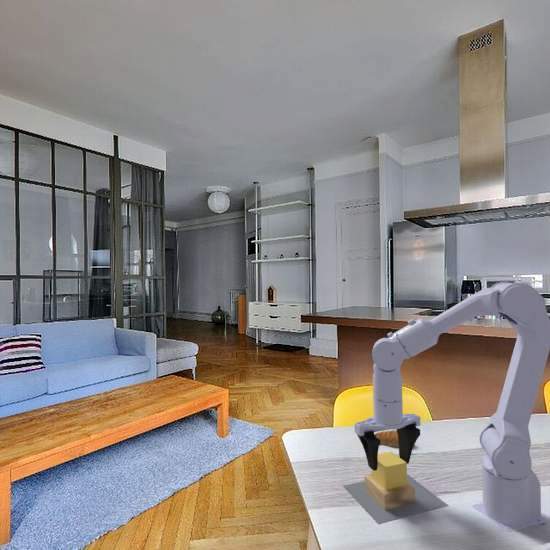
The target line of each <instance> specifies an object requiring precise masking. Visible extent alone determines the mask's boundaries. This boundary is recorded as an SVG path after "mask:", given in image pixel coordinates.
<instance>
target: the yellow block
mask: <svg viewBox="0 0 550 550" xmlns="http://www.w3.org/2000/svg"><path fill="white" fill-rule="evenodd" d="M407 466H408V464H407V463H406V462H405V461H404V460H402V459H401V458H400V456H399V455H397V454H395V453H394V452H392V451H388V452H387V451H386V452H382V453H378V467H377V470H375V471H374V470H372V469H371V468H370V471H371V472H370V475H371V477H372V478H373V479H374V480H375V481H376V482H377V483H378V484H380V485H381V486H382V487H383V488H384V489H385V490H388V489H392V488H397V487H401V486H406V485H407V474H408V469H407V468H408V467H407Z"/></svg>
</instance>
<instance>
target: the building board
mask: <svg viewBox="0 0 550 550" xmlns="http://www.w3.org/2000/svg"><path fill="white" fill-rule="evenodd" d="M407 482H409V483H410V484H411V485H412V486H414V487H415V503H411V504H407V505H403V506H399V507H395V508H391V509H387V510H384V509H383V508H382V507H381V506H380V505H379V504H378V503H377V502H376V501H375V500H374V499H373V498H372V497H371V496H370V495H369V494H368V493H367V492H366V491H365V480H363V481H360V482H354V483H350V484H345V485H342V487H343V488H344V489H345V490H346V491H347V492H348V493H349V494H350V495H351V496H352V498H354V500H355V501H356V502H357V503H358V504H359V505H360V506H361V507H362V509H364V511H365V512H366V513H367V514H368V515H369V516H370V517H371V519H373V520H374V521H375V523H376V524H378V525H380V524H383V523H384V524H385V523H388V522H392V521H395V520H396V521H397V520H399V519H404V518H408V517H411V516H415V515H419V514H422V513H426V512H430V511H434V510H437V509H441V508H445V507H449V505H448V504H447V503H446V502H445V501H443V500H442V499H441V498H440V497H438V496H437V495H436V494H434V493H433V492H432V491H430V490H429V489H428V488H426V487H425V486H424V485H422V484H421V483H420V482H418V481H417V480H416V479H414V478H413V477H412V476H410V475H409V474H408V473H407Z"/></svg>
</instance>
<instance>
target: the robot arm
mask: <svg viewBox="0 0 550 550" xmlns="http://www.w3.org/2000/svg"><path fill="white" fill-rule="evenodd" d="M546 305H547V300H546V299H545V298H544V297H543V296H542V295H541V294H540V292H538V290H537V289H535V288H534V286H532V285H530V284H528V283H524V282H508V281H500V282H496V283H495V284H493V285H492V286H491V287H486V288H484V289H481V290H480V291H477V292H475V293H474V294H473V293H472V295H470V296H468V297H466V298H465V299H463V300H462V301H460V302H458V303H457V304H455V305H453V306H452V307H450V308H449V309H447V310H445V311H443V312H442V313H440V314H439V315H437V316H435V317H433V318H432V319H430V320H429V319H424V318H418V319H417V320H415V319H414V318H412V319H410V320H408V321H407V323H408V325H406V326H404V327H402V328H400V329H399V330H397V331H395V332H394V333H393V331H391V332H389V333H387V334H386V335H387V337H382V338H380V339H378V340H377V341H375V343H374V345H373V347H372V349H371V356H372V357H371V358H372V361H373V367H372V369H373V373H372V394H373V395H372V397H373V398H372V401H373V407H372V409H373V413H372V414H373V415H372V416H371V417H369V418H367V419H364V420H361V421H357V422H354V433H355V434H356V435H357V437H358V438H359V441H360V443H361V445H362V448H363V450H364V453H365V457H366V461H367V466H368V467H369V468H370V470H371V469H372V470H374V471H375V470H377V467H378V454H379V448H380V445H379V444H380V441H381V440H379V439H378V438H377V437H376V435H375V434H376V432H377V433H379V432H383V431H392V430H395V431H397V434H398V441H399V448H398V457H399V458H401V459H402V460H404V461H405V462H406V463H407V465H408V464H409V463H410V460H411V456H412V453H413V450H414V446H415V444H416V443H417V440H418V439H419V437H421V429H420V428H418V427H419V426H421V425H422V424H421V416H420V415H418V414H416V413H414V412H413V413H403V411H404V410H403V376H402V374H401V366H402V365H403V362H404V360H409V359H410V358H413V357H416V356H417V355H418V354H421V353H422V352H424V351H426V350H428V349H431V347H433V346H435V345H437V344H438V340H439V337H440V335H441V334H444V333H446V332H448V331H450V330H452V329H454V328H456V327H458V326H460V325H462V324H464V323H466V322H468V321H470V320H472V319H474V318H476V317H479V316H484V317H485V316H486V317H487V316H489V317H490V316H492V317H493V316H494V317H499V316H501V317H502V318H504V319H505V320H506V321H507V322H508V323H509V325H510V327H512V328H513V330H514V331H515V333H516V334H517V337H516V341H515V343H514V344H515V345H514V348H513V352H512V355H511V358H510V363H509V365H508V369H507V373H506V377H505V380H504V384H503V388H502V390H501V391H502V392H501V395H500V399H499V402H498V406H497V410H496V412H495V413H493V415H491V416H490V418H489V420H488V424H487V425H486V426H485V427H484V428H483V429H482V430H480V434H479V443H480V446H481V448H482V449H483V451H484V452H485V454H484V457H483V459H482V461H481V465H482V466H481V472H482V473H481V474H482V477H481V479H482V483H481V484H482V502H480V503H477V504H472V505H471V507H472V508H473V509H474V510H476V511H477V512H478V513H480V514H482V515H483V516H484V517H486V518H487V519H489V520H490V521H491V522H493V523H494V524H495V525H497V526H498V527H500V528H501V529H502V530H504V531H506V532H507V533H511V532H515V531H517V530H518V531H519V530H521V529H522V530H523V529H525V528H528V527H531V526H534V525H537V524H538V525H539V526H540V525H543V524H546V522H547V520H546V519H545V517H543V516H542V503H541V502H542V499H541V497H542V496H541V495H542V494H541V493H542V492H541V490H542V489H541V482H540V480H539V478H538V476H537V475H536V473H535V471H533V470H532V464H533V463H532V458H531V455H530V451H531V446H532V441H531V436H530V430H529V424H530V421H531V417H532V414H533V411H534V406H535V403H536V400H537V397H538V393H539V389H540V385H541V382H542V380H543V379H542V377H543V374H544V371H545V369H546V364H547V361H548V357H549V354H550V317H549V314H548V311H547V307H546Z"/></svg>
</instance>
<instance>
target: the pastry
mask: <svg viewBox="0 0 550 550" xmlns="http://www.w3.org/2000/svg"><path fill="white" fill-rule="evenodd" d="M374 434H375V435H376V437H377V438H378V439H379V440H381V441H380V444H379V446H387V447H391V448H392V447H393V448H398V449H399V441H398V434H397V430H396V429H391V430H383V431H378V432H377V433H376V432H375V433H374Z"/></svg>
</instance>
